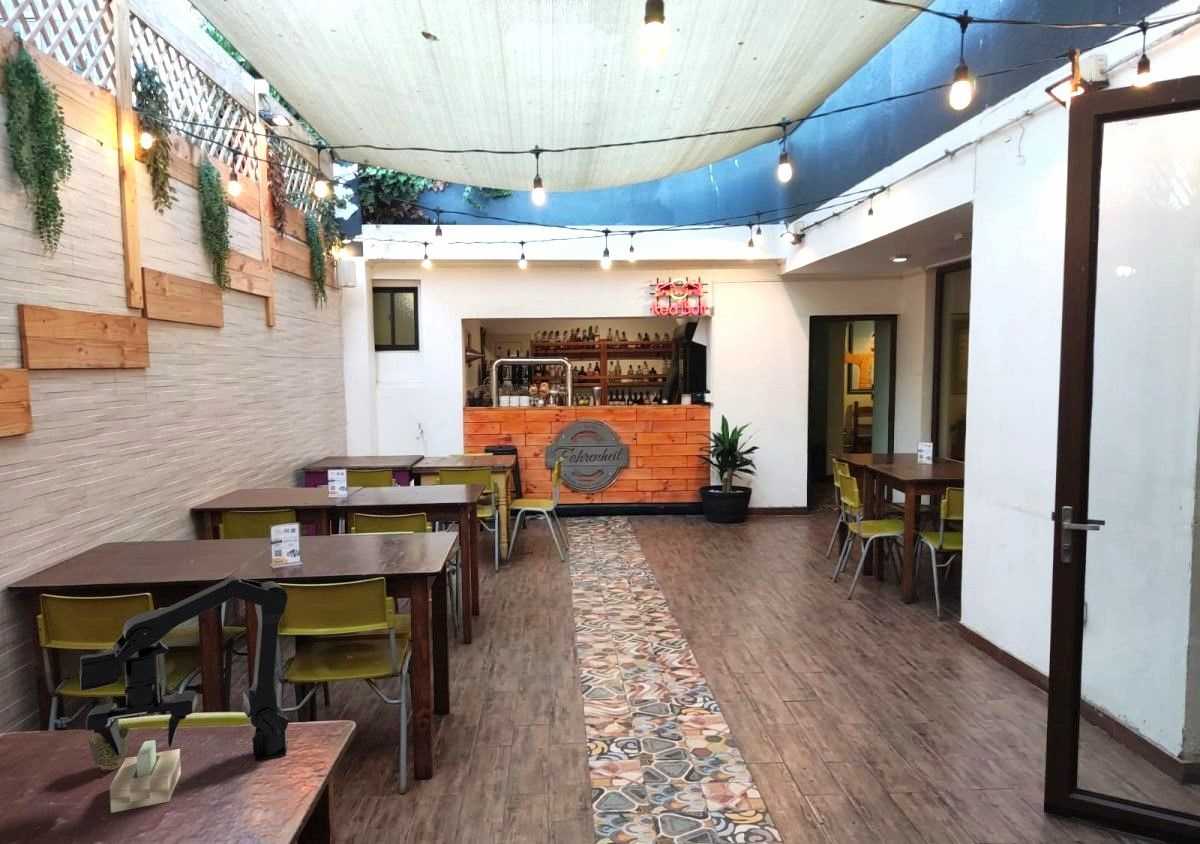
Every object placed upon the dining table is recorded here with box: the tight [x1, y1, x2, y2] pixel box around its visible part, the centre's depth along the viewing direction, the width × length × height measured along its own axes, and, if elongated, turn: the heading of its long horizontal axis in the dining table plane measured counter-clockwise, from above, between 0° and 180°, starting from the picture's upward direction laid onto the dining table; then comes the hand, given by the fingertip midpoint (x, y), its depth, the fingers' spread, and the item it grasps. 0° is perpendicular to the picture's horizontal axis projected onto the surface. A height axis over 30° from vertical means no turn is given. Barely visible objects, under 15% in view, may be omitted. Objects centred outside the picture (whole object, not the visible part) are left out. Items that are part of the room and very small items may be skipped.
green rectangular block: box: [136, 739, 157, 777], centre depth 141 cm, size 2×6×8 cm, turn 21°
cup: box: [88, 725, 131, 772], centre depth 150 cm, size 8×7×8 cm
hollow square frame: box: [109, 748, 182, 814], centre depth 141 cm, size 10×11×6 cm
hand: (145, 749), depth 140 cm, fingers open, 9 cm apart
